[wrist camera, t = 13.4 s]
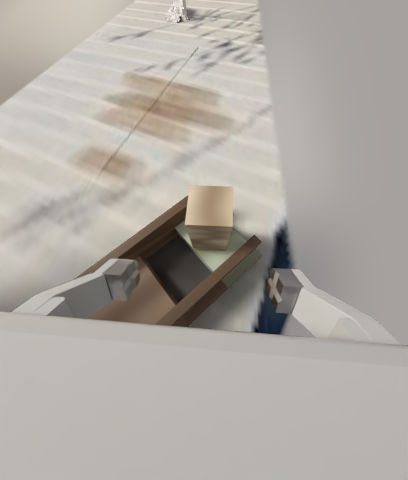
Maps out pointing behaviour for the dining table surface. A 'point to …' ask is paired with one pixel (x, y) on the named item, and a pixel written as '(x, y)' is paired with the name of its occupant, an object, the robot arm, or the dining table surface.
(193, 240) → the beech block
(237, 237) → the channel deck
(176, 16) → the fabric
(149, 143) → the dining table surface
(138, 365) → the robot arm
